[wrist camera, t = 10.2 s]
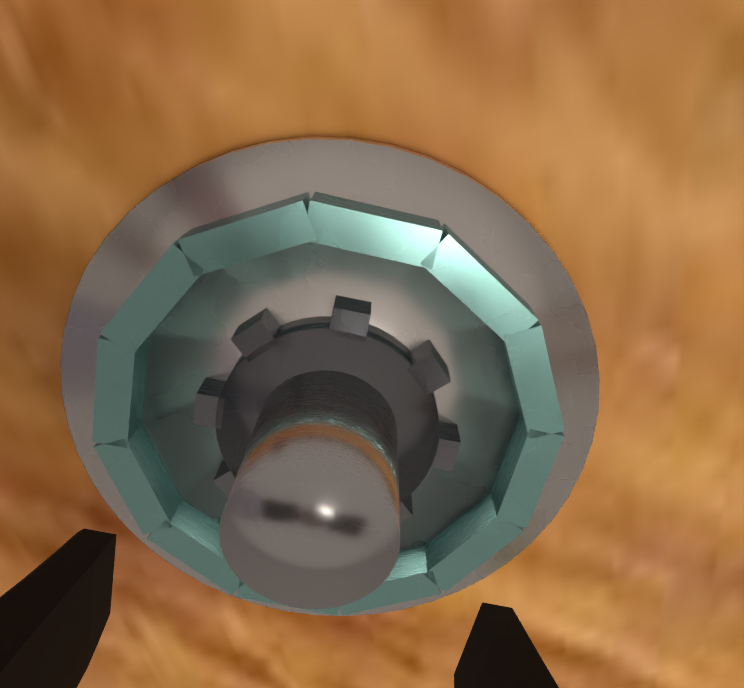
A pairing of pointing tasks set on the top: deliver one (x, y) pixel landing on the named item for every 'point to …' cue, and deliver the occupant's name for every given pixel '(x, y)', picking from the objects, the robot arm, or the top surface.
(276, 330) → the gear
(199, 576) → the plate
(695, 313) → the top surface
